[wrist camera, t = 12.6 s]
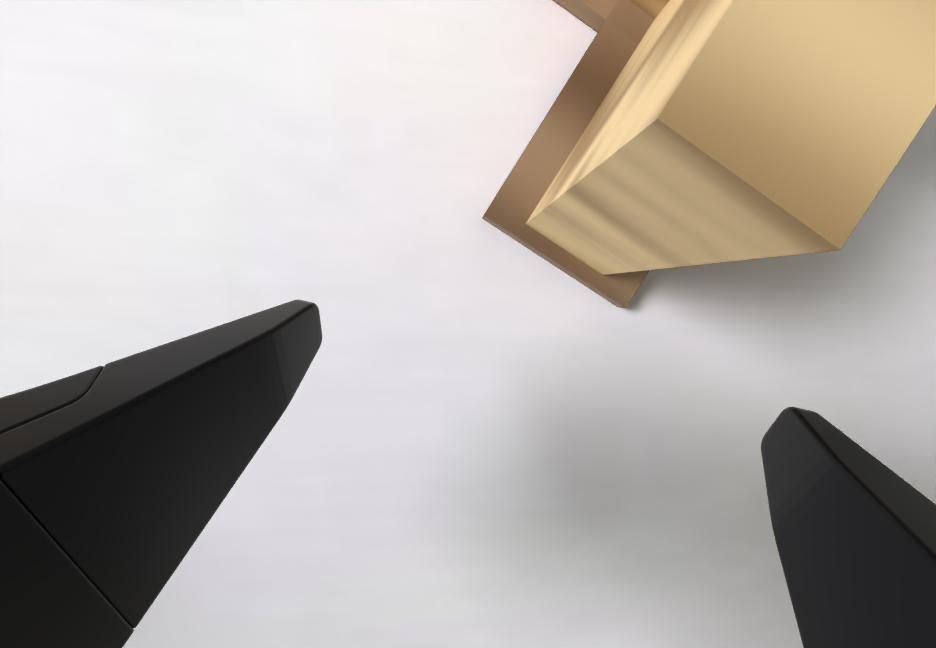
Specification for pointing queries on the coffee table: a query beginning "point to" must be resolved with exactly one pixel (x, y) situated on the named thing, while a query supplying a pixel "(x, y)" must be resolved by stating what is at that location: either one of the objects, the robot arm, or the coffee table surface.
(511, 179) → the walnut T outline
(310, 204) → the coffee table surface
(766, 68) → the oak T block
